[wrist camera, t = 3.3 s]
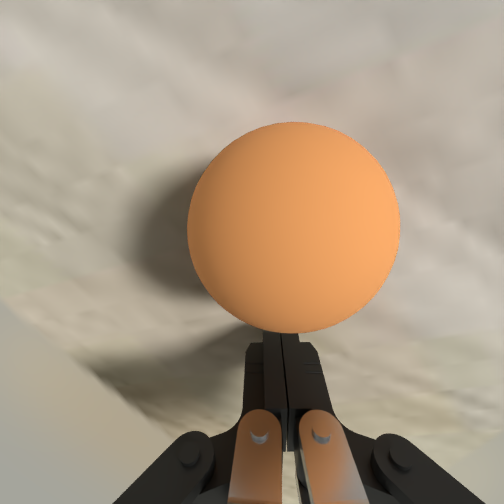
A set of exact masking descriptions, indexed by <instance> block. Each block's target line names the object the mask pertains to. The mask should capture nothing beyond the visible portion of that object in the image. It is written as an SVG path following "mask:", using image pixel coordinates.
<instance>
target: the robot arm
mask: <svg viewBox="0 0 504 504" xmlns="http://www.w3.org/2000/svg"><path fill="white" fill-rule="evenodd" d="M286 441H287V451H294V455H295V464H296V471H295V479H296V486H297V492H298V497H299V503H300V504H485V503H484V502H483V501H481V500H480V499H479V498H478V497H477V496H475V495H474V494H473V493H472V492H470V491H469V490H468V489H467V488H466V487H464V486H463V485H462V484H461V483H459V482H458V481H457V480H456V479H455V478H453V477H452V476H451V475H450V474H449V473H447V472H446V471H445V470H444V469H443V468H441V467H440V466H439V465H438V464H436V463H435V462H434V461H433V460H432V459H430V458H429V457H428V456H427V455H426V454H424V453H423V452H422V451H421V450H419V449H418V448H417V447H416V446H415V445H413V444H412V443H411V442H410V441H408V440H407V439H405V438H403V437H401V436H399V435H396V434H383V435H381V436H379V437H378V438H377V439H376V440H374V439H372V438H369V437H366V436H363V435H360V434H357V433H355V432H353V431H351V430H349V429H348V428H346V427H345V426H344V425H343V424H342V423H341V422H340V421H339V420H338V419H337V417H336V416H335V414H334V411H333V409H332V405H331V401H330V397H329V394H328V390H327V386H326V382H325V379H324V375H323V371H322V367H321V365H320V360H319V356H318V352H317V351H316V349H315V348H314V347H313V345H312V344H311V343H310V342H300V341H299V336H298V333H278V332H272V331H267V330H263V342H260V343H251V344H250V345H249V347H248V349H247V351H246V357H245V374H244V392H243V409H242V414H241V417H240V419H239V420H238V422H237V423H236V424H235V426H233V427H232V428H231V429H230V430H228V431H226V432H224V433H221V434H219V435H216V436H213V437H210V438H209V437H208V436H207V435H206V434H204V433H202V432H199V431H191V432H187V433H185V434H183V435H181V436H180V437H179V438H177V439H176V440H175V441H174V442H173V443H172V444H171V445H170V446H169V447H168V448H167V449H166V450H165V451H164V452H163V453H162V454H161V455H160V456H159V457H158V458H157V459H156V460H155V461H154V462H153V464H152V465H150V466H149V467H148V468H147V469H146V471H144V472H143V474H142V475H141V476H140V477H139V478H138V479H137V480H136V481H135V482H134V483H133V484H132V485H131V486H130V487H129V488H128V489H127V490H126V491H125V492H124V493H123V494H122V495H121V496H120V497H119V498H118V499H117V500H116V501H115V502H114V503H113V504H282V463H283V452H286Z"/></svg>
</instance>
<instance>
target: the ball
mask: <svg viewBox="0 0 504 504" xmlns="http://www.w3.org/2000/svg"><path fill="white" fill-rule="evenodd" d="M187 237H188V245H189V250H190V255H191V259H192V262H193V265H194V267H195V270H196V272H197V274H198V276H199V278H200V280H201V282H202V283H203V285H204V286H205V288H206V289H207V291H208V292H209V294H210V295H211V296H212V297H213V298H214V299H215V301H216V302H217V303H218V304H219V305H221V306H222V307H223V308H224V309H225V310H226V311H228V312H229V313H231V314H232V315H234V316H235V317H237V318H238V319H239V320H241V321H243V322H245V323H247V324H249V325H252V326H254V327H257V328H260V329H263V330H267V331H272V332H278V333H306V332H313V331H317V330H321V329H325V328H327V327H330V326H333V325H335V324H337V323H339V322H341V321H343V320H345V319H347V318H349V317H350V316H352V315H353V314H355V313H356V312H358V311H359V310H360V309H361V308H363V307H364V306H365V305H366V304H367V303H368V302H369V301H370V300H371V299H372V298H373V297H374V296H375V294H376V293H377V292H378V291H379V289H380V288H381V287H382V285H383V283H384V282H385V280H386V278H387V277H388V274H389V272H390V270H391V268H392V266H393V263H394V261H395V257H396V254H397V251H398V245H399V238H400V214H399V208H398V203H397V199H396V196H395V193H394V190H393V187H392V185H391V183H390V181H389V179H388V177H387V175H386V173H385V171H384V170H383V168H382V167H381V166H380V164H379V163H378V161H377V160H376V159H375V158H374V157H373V156H372V155H371V154H370V153H369V152H368V151H367V150H366V149H365V148H364V147H363V146H361V145H360V144H359V143H358V142H356V141H355V140H354V139H352V138H350V137H349V136H347V135H345V134H343V133H341V132H339V131H337V130H334V129H331V128H328V127H326V126H321V125H316V124H311V123H303V122H286V123H277V124H272V125H268V126H264V127H261V128H258V129H256V130H253V131H251V132H248V133H246V134H245V135H243V136H241V137H240V138H238V139H236V140H234V141H233V142H232V143H231V144H229V145H228V146H227V147H226V148H224V149H223V150H222V151H221V152H220V153H219V154H218V155H217V156H216V157H215V158H214V159H213V160H212V162H211V163H210V164H209V166H208V167H207V168H206V170H205V171H204V173H203V174H202V176H201V178H200V180H199V182H198V184H197V185H196V188H195V191H194V193H193V196H192V199H191V203H190V208H189V213H188V223H187Z"/></svg>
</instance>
